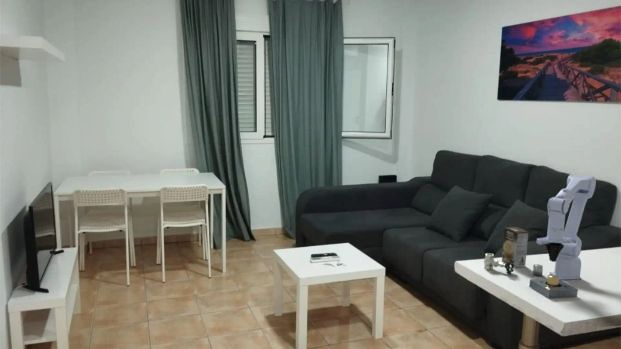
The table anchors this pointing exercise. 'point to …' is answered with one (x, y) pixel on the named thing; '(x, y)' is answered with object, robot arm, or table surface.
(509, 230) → the coffee box
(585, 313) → the table surface
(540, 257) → the table surface
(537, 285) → the plate
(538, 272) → the sleeve
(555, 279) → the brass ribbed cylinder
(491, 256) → the valve
